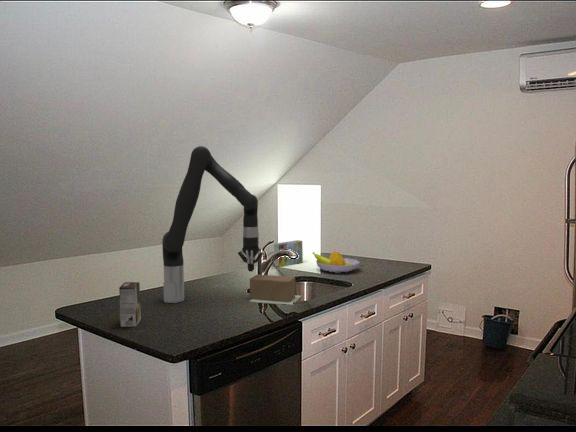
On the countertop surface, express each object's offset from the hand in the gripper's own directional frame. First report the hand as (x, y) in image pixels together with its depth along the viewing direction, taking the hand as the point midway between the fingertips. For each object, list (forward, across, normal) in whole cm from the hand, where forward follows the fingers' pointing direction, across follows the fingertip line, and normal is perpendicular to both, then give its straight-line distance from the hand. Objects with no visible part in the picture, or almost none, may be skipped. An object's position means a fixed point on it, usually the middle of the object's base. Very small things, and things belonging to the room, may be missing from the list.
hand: (251, 271), depth 238 cm
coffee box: (+13, -34, -51) cm, 62 cm away
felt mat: (+13, +12, 0) cm, 18 cm away
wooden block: (+8, +1, 0) cm, 8 cm away
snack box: (+13, -5, +86) cm, 87 cm away
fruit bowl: (+13, +29, +74) cm, 80 cm away
